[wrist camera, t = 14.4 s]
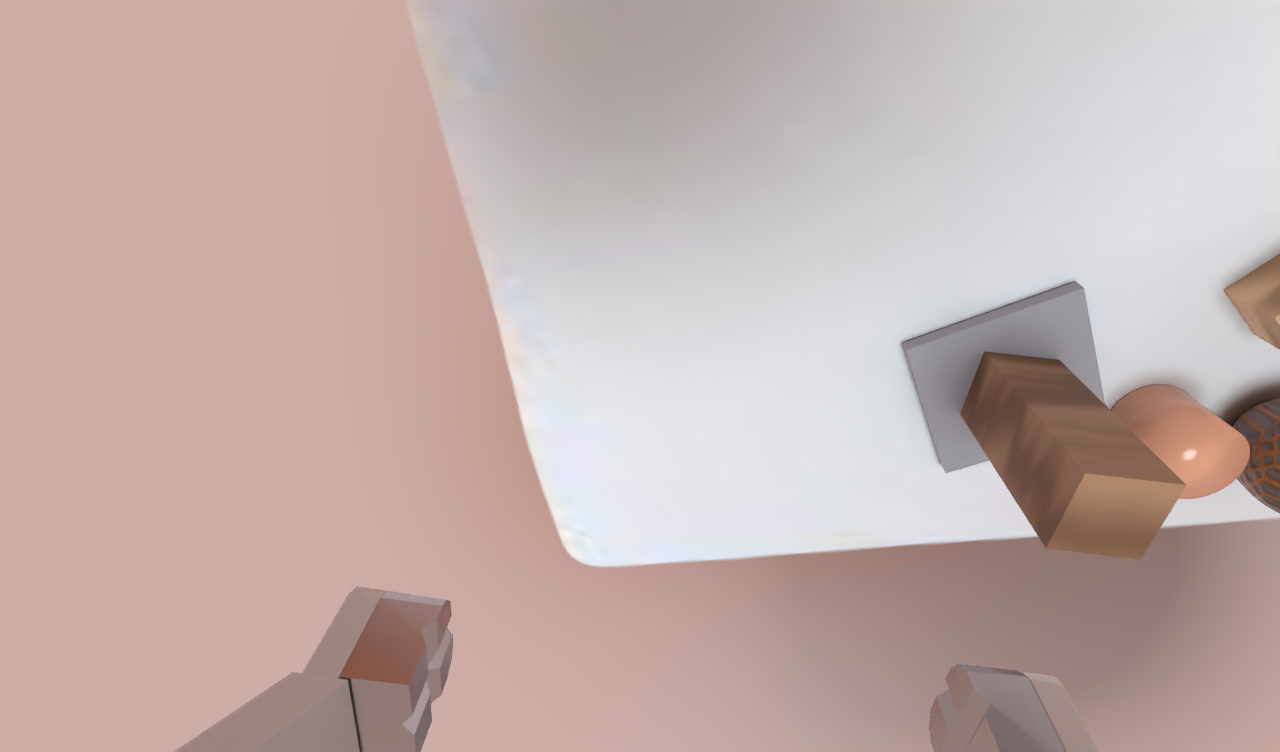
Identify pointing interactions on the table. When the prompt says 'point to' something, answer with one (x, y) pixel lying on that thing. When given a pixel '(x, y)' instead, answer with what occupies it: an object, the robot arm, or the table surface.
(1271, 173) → the table surface
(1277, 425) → the vase
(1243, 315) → the oak cube
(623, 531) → the table surface
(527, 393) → the table surface
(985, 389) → the walnut block
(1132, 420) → the peach rounded cylinder
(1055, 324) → the grey pad
